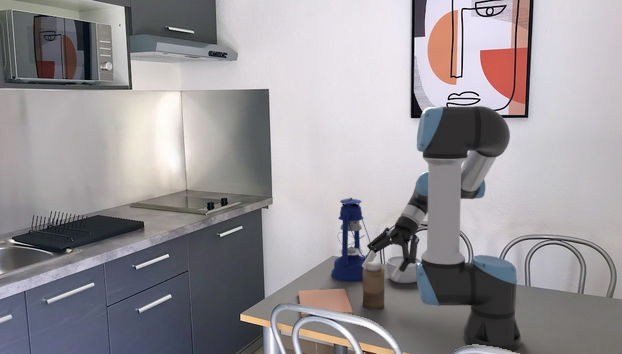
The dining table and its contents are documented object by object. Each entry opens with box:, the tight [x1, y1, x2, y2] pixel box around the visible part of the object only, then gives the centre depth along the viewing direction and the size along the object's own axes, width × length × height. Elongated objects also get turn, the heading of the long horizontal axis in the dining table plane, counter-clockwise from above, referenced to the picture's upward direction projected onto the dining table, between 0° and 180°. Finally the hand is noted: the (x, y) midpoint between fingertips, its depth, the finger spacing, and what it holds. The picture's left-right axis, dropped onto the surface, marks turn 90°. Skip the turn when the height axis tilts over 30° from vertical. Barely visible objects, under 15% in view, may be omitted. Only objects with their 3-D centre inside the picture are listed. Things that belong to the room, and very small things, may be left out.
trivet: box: [298, 288, 354, 317], centre depth 175 cm, size 20×16×2 cm
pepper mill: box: [362, 261, 385, 310], centre depth 173 cm, size 7×7×14 cm
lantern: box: [331, 197, 371, 283], centre depth 201 cm, size 17×15×30 cm
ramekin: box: [385, 254, 421, 284], centre depth 198 cm, size 13×13×7 cm
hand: (378, 273), depth 175 cm, fingers open, 13 cm apart
